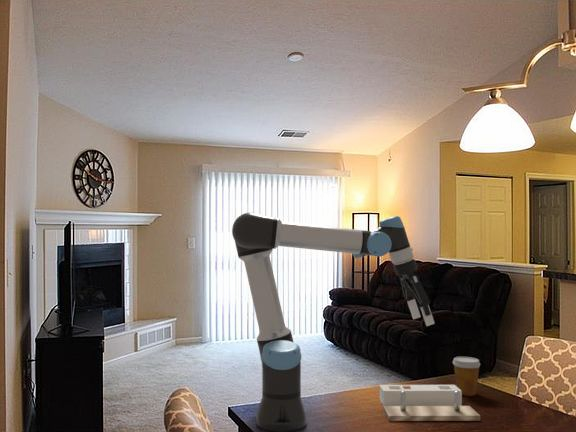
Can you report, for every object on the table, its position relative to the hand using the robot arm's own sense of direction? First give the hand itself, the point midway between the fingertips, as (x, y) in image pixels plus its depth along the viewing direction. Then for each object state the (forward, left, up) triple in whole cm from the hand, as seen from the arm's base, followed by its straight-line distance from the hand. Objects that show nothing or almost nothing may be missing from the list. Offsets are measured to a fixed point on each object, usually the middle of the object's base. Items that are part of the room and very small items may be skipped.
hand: (423, 321), depth 172 cm
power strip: (-2, +1, -28) cm, 28 cm away
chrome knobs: (+6, -9, -28) cm, 30 cm away
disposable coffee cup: (+6, +22, -28) cm, 36 cm away
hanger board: (+6, -9, -28) cm, 30 cm away
